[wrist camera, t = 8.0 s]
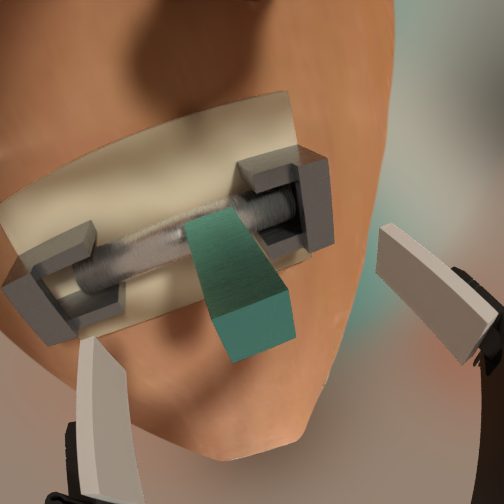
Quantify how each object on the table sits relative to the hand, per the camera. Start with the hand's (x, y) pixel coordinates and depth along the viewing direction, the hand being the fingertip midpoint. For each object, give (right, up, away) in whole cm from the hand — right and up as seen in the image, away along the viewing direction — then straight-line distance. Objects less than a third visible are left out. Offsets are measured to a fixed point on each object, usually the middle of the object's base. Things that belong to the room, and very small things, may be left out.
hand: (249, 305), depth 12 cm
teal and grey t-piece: (-5, +4, +8) cm, 10 cm away
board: (-7, +4, +8) cm, 11 cm away
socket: (+2, +6, +9) cm, 11 cm away
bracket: (-13, +1, +6) cm, 15 cm away
